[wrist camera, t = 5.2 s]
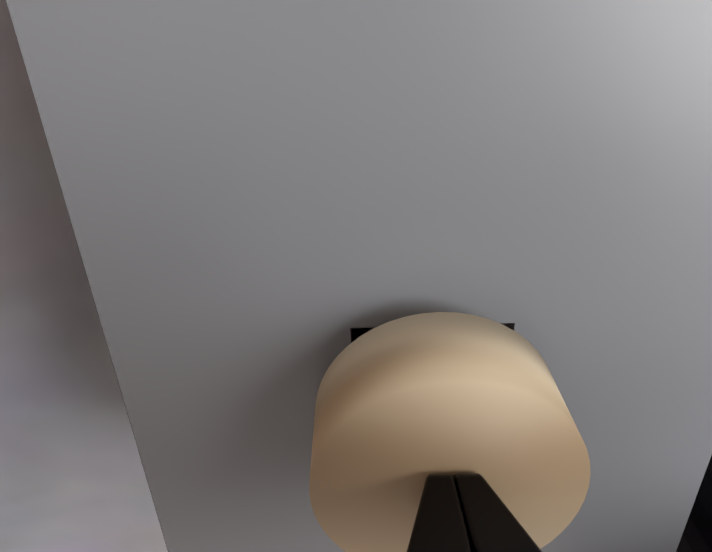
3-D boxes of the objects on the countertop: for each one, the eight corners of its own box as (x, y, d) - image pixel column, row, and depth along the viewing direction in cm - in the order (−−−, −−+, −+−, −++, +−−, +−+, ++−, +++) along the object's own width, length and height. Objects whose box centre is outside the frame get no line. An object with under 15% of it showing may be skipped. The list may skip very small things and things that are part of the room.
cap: (488, 350, 16) (568, 574, 10) (330, 355, 16) (318, 581, 10) (503, 201, 14) (615, 376, 8) (320, 207, 14) (298, 386, 8)
